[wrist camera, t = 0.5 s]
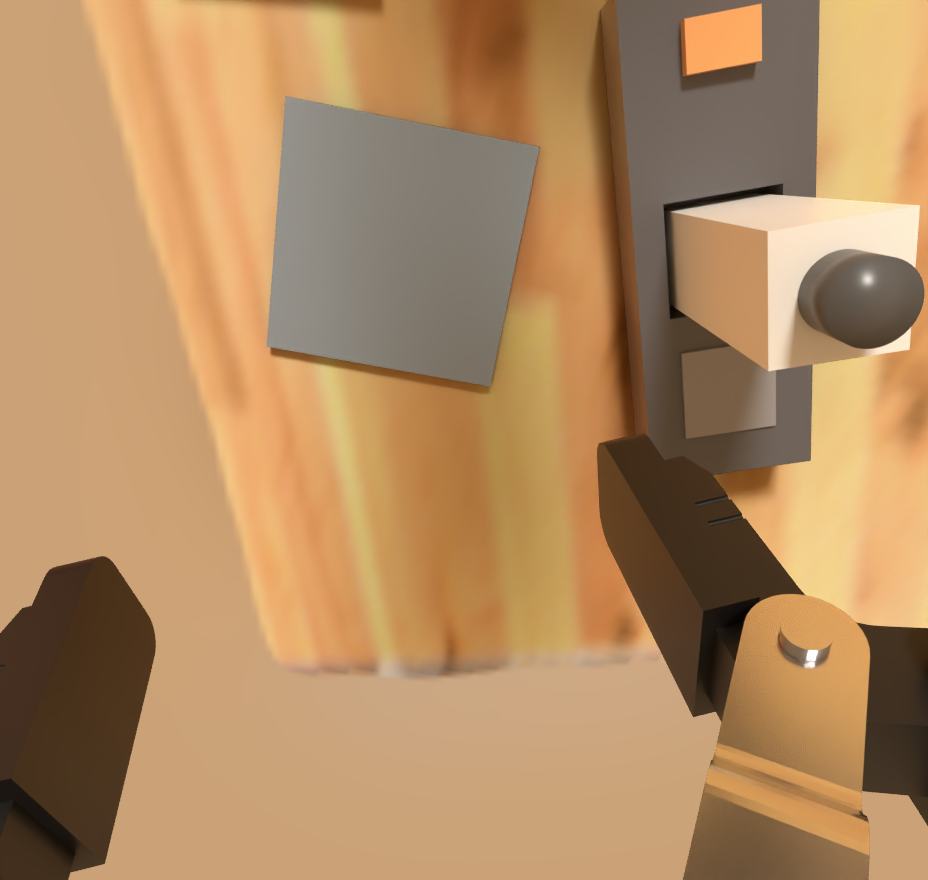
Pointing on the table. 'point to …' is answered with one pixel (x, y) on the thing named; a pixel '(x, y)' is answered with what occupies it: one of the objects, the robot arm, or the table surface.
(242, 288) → the table surface
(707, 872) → the robot arm
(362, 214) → the rubber mat
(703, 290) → the white square bottle
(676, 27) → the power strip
